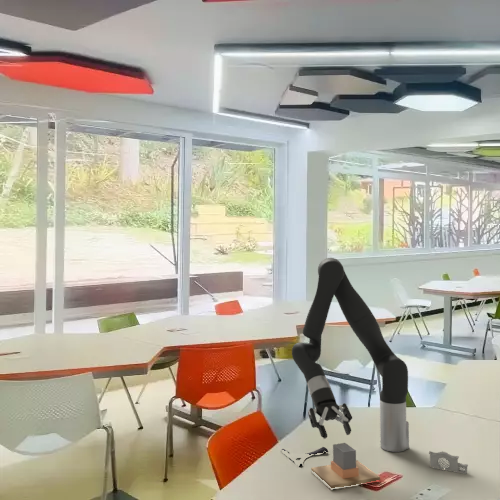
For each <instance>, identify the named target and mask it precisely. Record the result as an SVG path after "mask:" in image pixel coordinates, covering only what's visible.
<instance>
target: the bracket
mask: <svg viewBox="0 0 500 500" xmlns="http://www.w3.org/2000/svg"><path fill="white" fill-rule="evenodd" d="M281 450H284V451H287V450H286V449H284V448H282V449H281ZM325 451H326V452H328V453H329V451H328V448H326V446H325V447H324V446H322V447H320V448H318V449H315V450H313V451H310V452H308V453H306V454H309V455H311V454H317V453H323V452H325Z"/></svg>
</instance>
